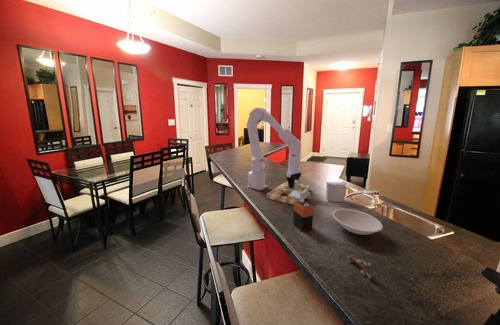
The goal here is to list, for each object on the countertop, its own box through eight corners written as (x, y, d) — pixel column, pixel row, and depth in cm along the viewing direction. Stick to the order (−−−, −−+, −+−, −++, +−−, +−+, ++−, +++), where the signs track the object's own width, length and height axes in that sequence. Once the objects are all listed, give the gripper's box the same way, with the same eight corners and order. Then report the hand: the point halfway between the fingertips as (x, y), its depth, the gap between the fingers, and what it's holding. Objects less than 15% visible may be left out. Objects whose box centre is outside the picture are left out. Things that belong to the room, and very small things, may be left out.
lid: (287, 197, 105) (287, 191, 104) (295, 190, 113) (295, 186, 112) (302, 200, 101) (303, 195, 100) (310, 193, 109) (310, 188, 108)
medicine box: (341, 199, 110) (343, 182, 108) (344, 202, 105) (346, 185, 103) (325, 198, 111) (326, 181, 109) (327, 201, 106) (328, 184, 104)
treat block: (287, 191, 120) (287, 181, 118) (290, 189, 123) (291, 179, 122) (295, 193, 117) (295, 182, 116) (298, 190, 121) (298, 180, 120)
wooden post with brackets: (369, 281, 55) (366, 261, 56) (350, 272, 63) (347, 255, 64) (376, 279, 56) (372, 260, 57) (355, 271, 63) (353, 254, 64)
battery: (302, 221, 87) (303, 197, 85) (312, 229, 81) (314, 204, 79) (292, 223, 86) (293, 199, 83) (302, 232, 79) (303, 206, 77)
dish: (322, 223, 86) (323, 211, 84) (351, 217, 90) (352, 206, 89) (358, 249, 69) (360, 235, 68) (391, 240, 74) (393, 227, 73)
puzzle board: (266, 198, 111) (266, 193, 110) (286, 185, 130) (286, 181, 129) (302, 206, 101) (302, 201, 100) (317, 191, 120) (318, 187, 119)
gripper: (296, 166, 109) (294, 192, 112) (306, 160, 121) (304, 184, 124) (282, 164, 113) (282, 189, 116) (294, 159, 124) (293, 182, 127)
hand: (293, 186), depth 120 cm, fingers closed on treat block, 4 cm apart
